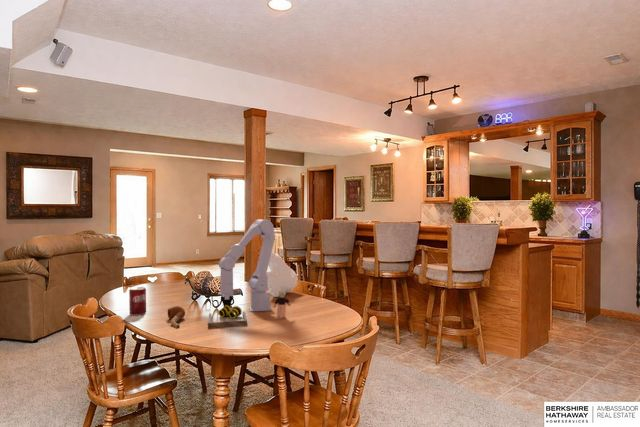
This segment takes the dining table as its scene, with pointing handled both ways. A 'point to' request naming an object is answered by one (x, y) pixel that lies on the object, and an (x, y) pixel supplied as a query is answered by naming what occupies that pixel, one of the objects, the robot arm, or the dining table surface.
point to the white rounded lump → (280, 276)
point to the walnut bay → (227, 322)
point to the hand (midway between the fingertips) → (227, 311)
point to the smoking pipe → (176, 315)
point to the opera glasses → (230, 311)
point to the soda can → (137, 301)
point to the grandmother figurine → (281, 305)
